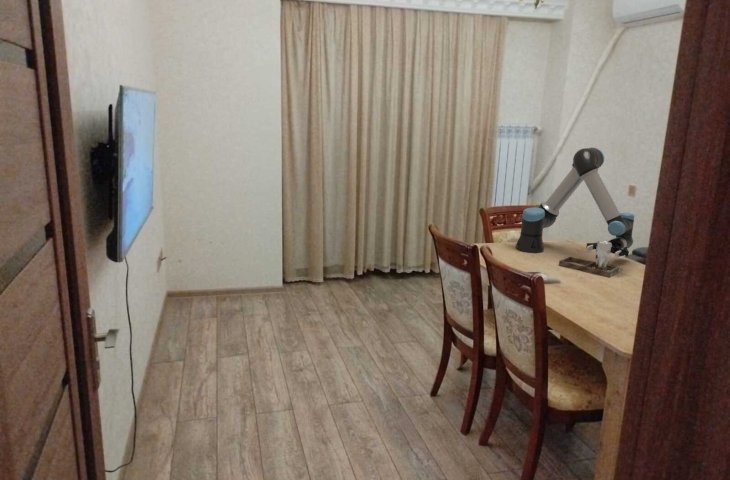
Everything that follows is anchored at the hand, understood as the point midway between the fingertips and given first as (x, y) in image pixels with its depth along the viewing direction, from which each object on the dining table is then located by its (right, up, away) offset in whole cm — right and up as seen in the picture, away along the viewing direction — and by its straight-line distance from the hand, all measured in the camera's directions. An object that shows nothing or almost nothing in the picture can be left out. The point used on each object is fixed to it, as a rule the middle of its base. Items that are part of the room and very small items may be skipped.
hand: (601, 252), depth 250 cm
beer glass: (+2, -10, +5) cm, 11 cm away
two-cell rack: (-2, -8, +9) cm, 13 cm away
